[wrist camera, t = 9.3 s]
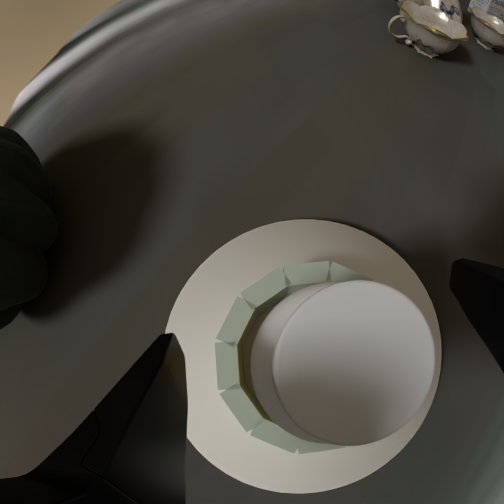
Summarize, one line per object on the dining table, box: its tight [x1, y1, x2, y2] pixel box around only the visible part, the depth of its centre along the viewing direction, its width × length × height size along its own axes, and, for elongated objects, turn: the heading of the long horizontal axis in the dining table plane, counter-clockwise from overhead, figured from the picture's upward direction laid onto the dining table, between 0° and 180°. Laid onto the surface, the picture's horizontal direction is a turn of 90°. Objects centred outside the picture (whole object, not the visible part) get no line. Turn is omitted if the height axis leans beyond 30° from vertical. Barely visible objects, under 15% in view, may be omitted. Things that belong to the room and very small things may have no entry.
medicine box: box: [468, 0, 504, 22], centre depth 28 cm, size 8×4×9 cm, turn 110°
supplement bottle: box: [251, 280, 436, 446], centre depth 11 cm, size 5×5×10 cm
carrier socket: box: [165, 219, 442, 494], centre depth 15 cm, size 16×16×4 cm
